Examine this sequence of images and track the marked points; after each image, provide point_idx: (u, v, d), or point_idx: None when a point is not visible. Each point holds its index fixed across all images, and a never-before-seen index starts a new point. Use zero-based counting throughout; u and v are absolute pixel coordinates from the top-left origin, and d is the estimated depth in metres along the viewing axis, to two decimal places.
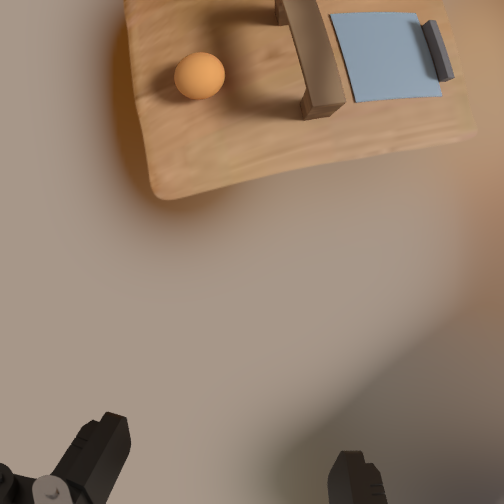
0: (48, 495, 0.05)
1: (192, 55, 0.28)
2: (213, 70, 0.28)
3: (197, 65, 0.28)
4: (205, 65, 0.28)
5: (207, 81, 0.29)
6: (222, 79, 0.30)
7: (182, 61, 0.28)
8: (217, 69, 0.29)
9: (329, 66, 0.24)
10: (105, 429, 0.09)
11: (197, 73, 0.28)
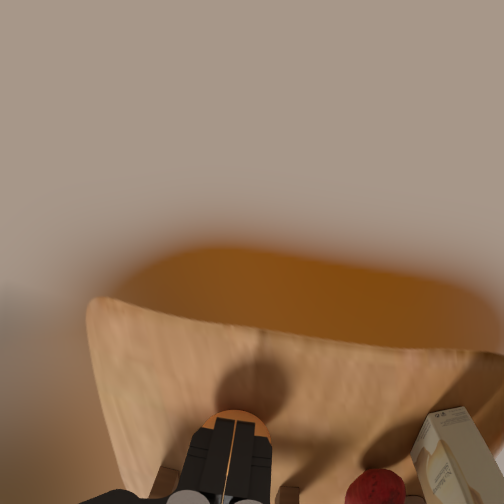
0: None
1: None
2: None
3: None
4: None
5: None
6: None
7: None
8: None
9: None
10: (222, 434, 0.10)
11: None
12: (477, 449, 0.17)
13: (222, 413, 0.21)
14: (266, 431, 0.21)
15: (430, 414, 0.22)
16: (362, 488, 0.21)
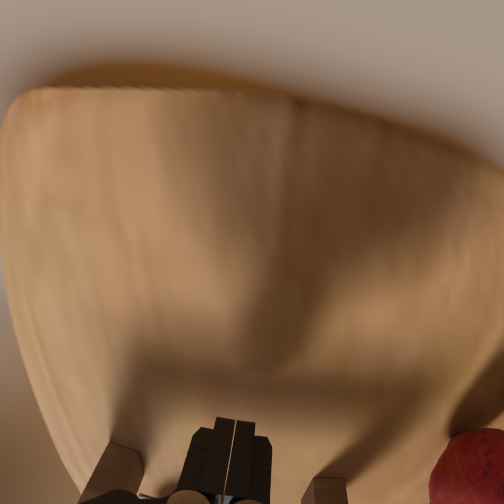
0: None
1: None
2: None
3: None
4: None
5: None
6: None
7: None
8: None
9: None
10: (222, 434, 0.10)
11: None
12: None
13: None
14: None
15: None
16: (469, 463, 0.10)
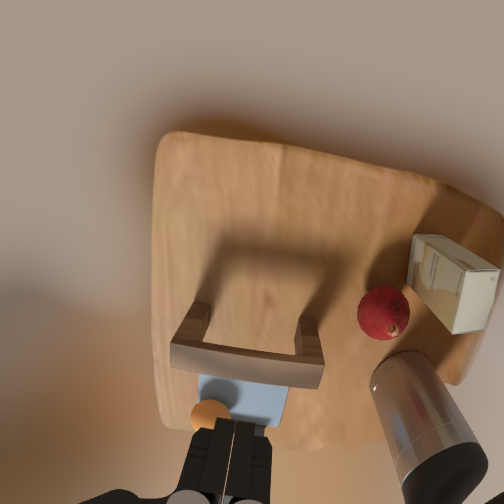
0: None
1: None
2: None
3: None
4: None
5: None
6: (208, 400, 0.39)
7: None
8: None
9: (205, 369, 0.29)
10: (222, 434, 0.10)
11: None
12: (457, 247, 0.27)
13: None
14: None
15: (414, 234, 0.33)
16: (370, 294, 0.31)
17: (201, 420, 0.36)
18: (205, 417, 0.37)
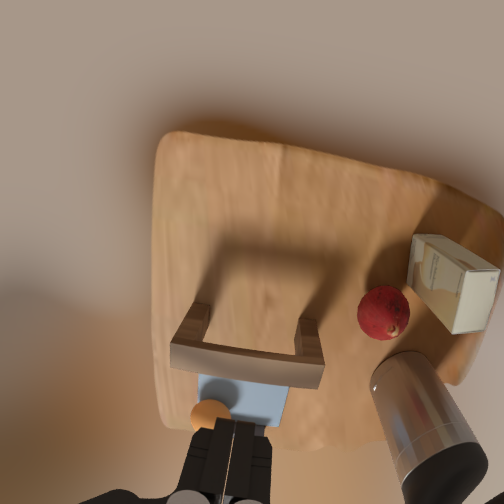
0: None
1: None
2: None
3: None
4: None
5: None
6: (208, 400, 0.39)
7: None
8: None
9: (205, 369, 0.29)
10: (222, 434, 0.10)
11: None
12: (457, 247, 0.27)
13: None
14: None
15: (414, 234, 0.33)
16: (370, 294, 0.31)
17: (201, 420, 0.36)
18: (205, 417, 0.37)
